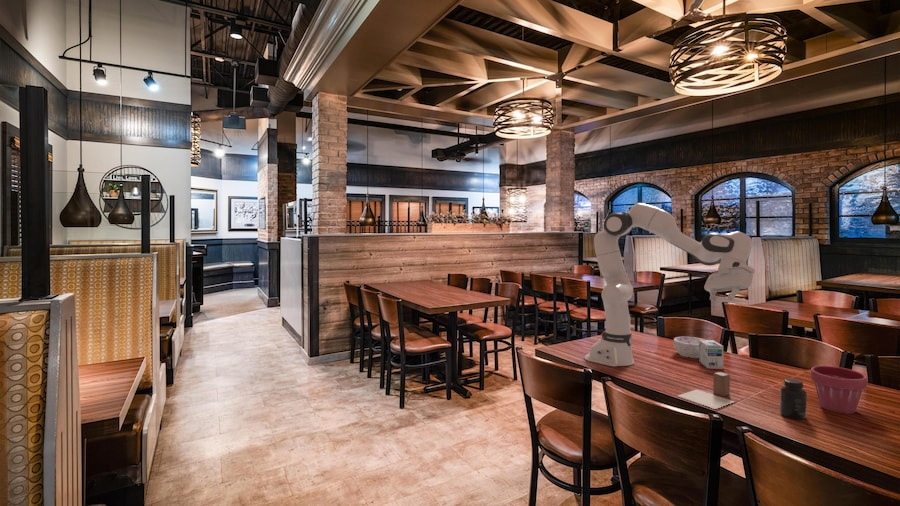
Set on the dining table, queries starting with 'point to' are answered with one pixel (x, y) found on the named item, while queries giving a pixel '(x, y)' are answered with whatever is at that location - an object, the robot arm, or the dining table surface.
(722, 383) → the wooden block
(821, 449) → the dining table surface
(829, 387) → the plant pot
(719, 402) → the plate
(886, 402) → the dining table surface
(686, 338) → the paper bowls
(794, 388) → the supplement bottle
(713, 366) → the light bulb box
